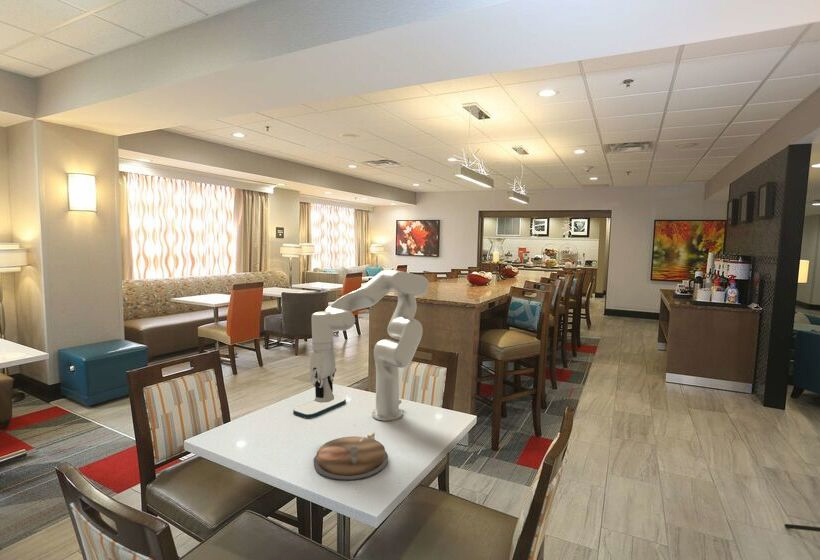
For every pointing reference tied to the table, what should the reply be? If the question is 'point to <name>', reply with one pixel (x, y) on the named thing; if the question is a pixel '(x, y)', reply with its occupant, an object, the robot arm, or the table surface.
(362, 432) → the table surface
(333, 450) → the turntable
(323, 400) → the flask
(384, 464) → the base
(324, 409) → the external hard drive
